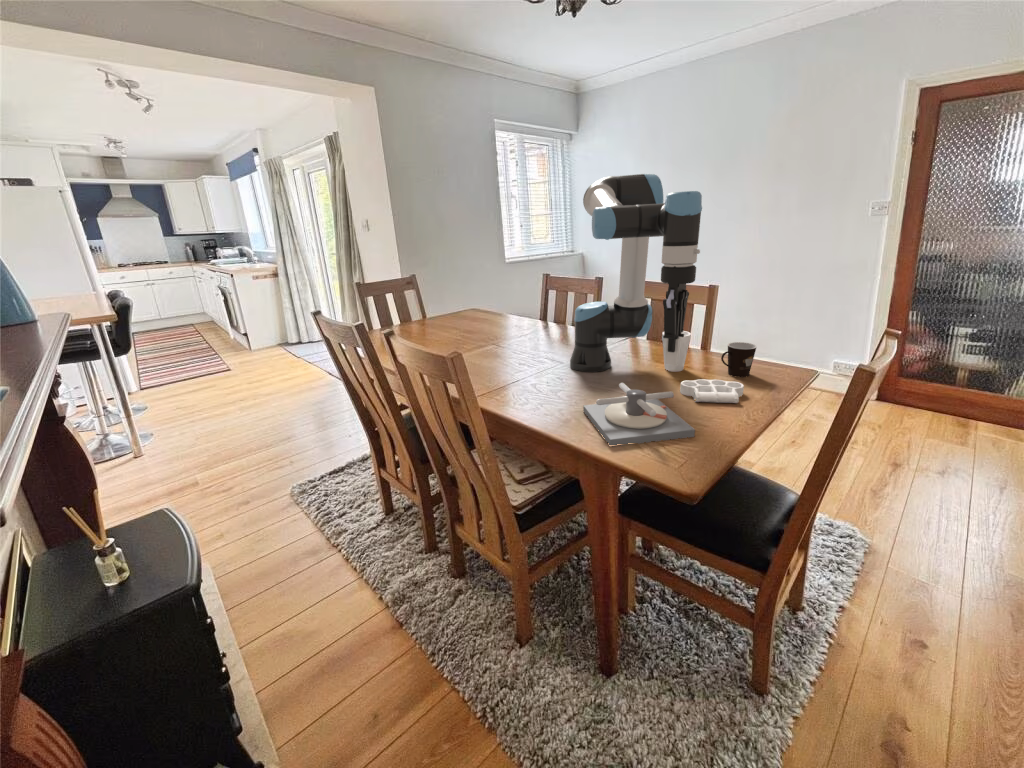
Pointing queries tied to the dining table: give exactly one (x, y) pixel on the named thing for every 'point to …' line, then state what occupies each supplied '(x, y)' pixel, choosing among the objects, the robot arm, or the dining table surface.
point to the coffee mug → (739, 358)
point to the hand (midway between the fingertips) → (671, 363)
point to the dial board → (623, 435)
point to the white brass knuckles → (712, 390)
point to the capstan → (635, 409)
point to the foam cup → (682, 352)
